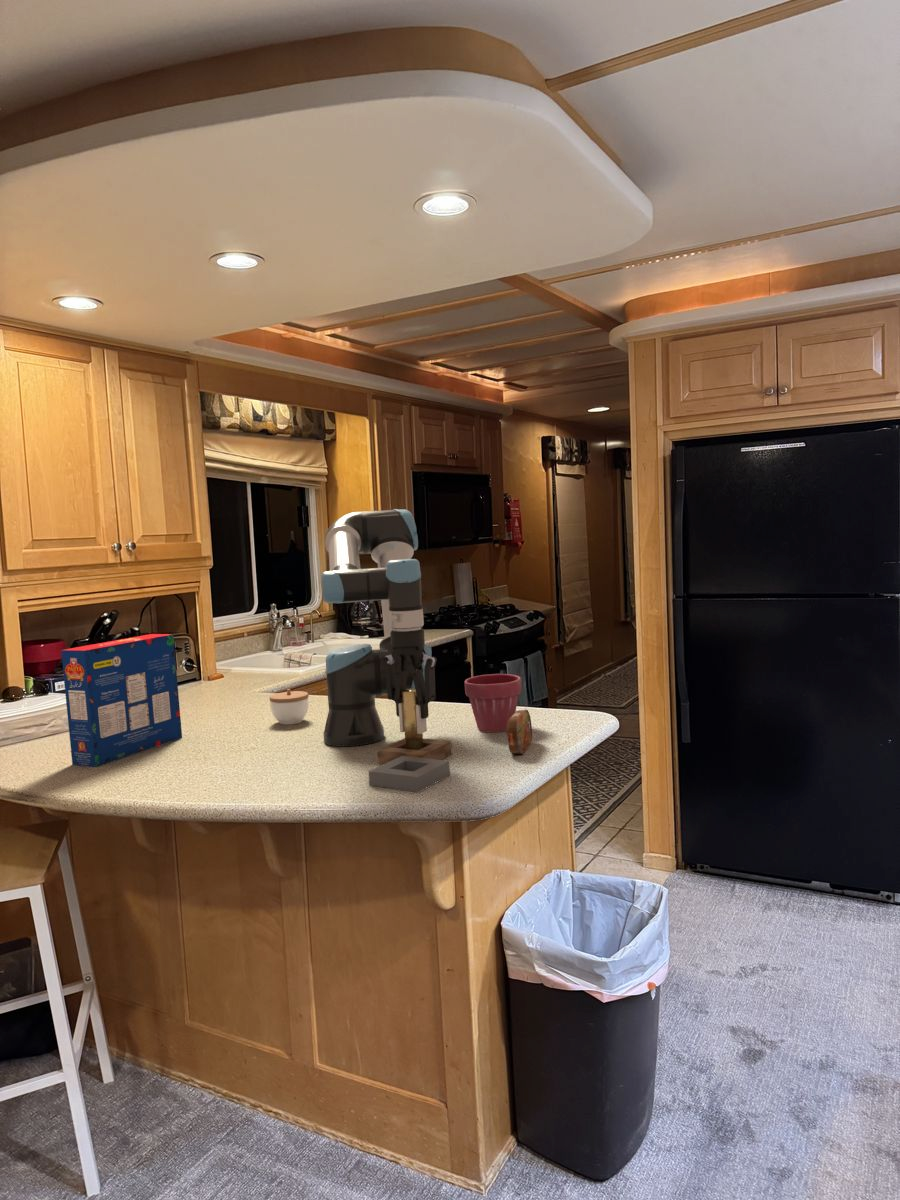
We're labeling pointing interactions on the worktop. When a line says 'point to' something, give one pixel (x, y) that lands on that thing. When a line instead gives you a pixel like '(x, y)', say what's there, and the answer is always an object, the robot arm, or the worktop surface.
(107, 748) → the pasta box
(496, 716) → the plant pot
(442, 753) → the brown wooden square frame
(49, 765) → the worktop surface
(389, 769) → the plate
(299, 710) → the lidded jar
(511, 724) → the tin
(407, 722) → the lock pin
